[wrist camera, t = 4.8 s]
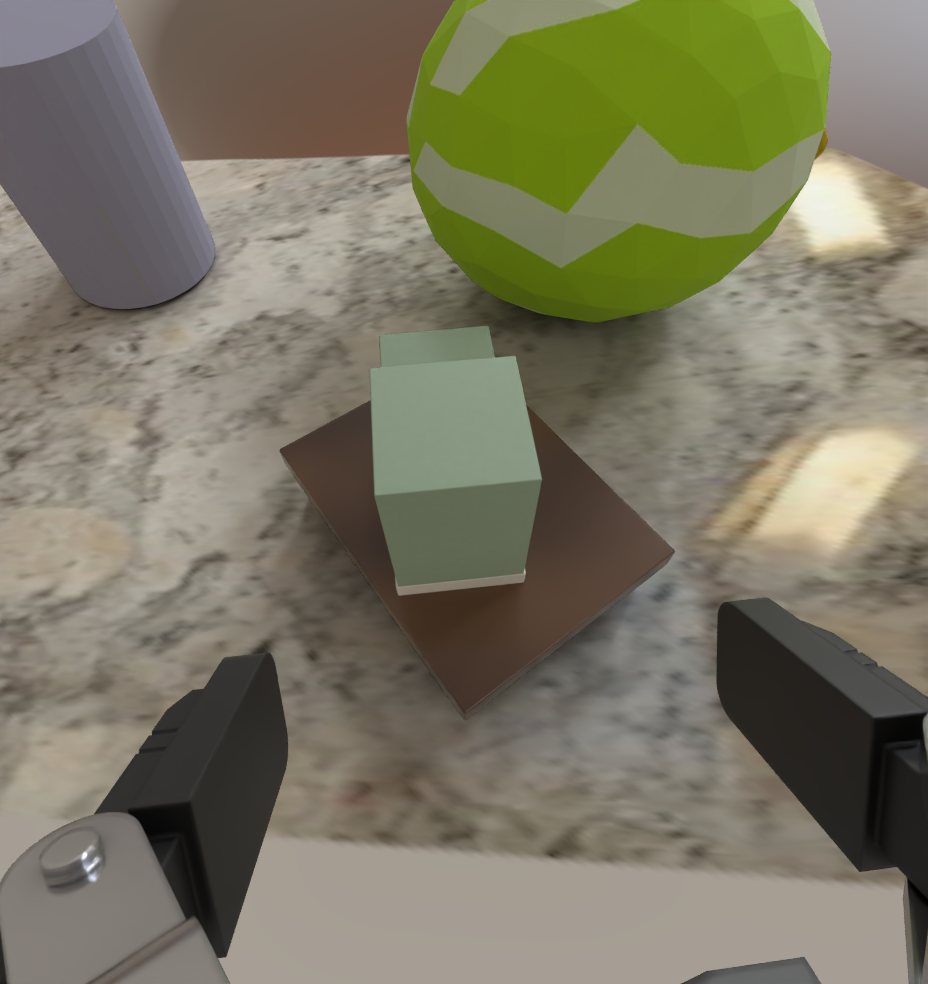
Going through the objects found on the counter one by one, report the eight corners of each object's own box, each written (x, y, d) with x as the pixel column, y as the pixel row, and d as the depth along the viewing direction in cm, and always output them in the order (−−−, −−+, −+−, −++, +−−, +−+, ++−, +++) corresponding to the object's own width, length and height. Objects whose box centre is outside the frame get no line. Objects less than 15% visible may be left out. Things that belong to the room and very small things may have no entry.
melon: (802, 400, 37) (1091, 7, 20) (404, 379, 38) (352, -10, 21) (746, 207, 47) (904, -160, 30) (435, 195, 48) (417, -166, 31)
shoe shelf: (297, 490, 34) (278, 449, 30) (467, 393, 37) (467, 346, 34) (465, 732, 27) (464, 714, 23) (653, 584, 30) (676, 550, 27)
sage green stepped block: (524, 582, 26) (545, 479, 19) (398, 596, 26) (370, 496, 19) (488, 380, 33) (494, 244, 25) (386, 389, 32) (362, 254, 25)
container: (41, 294, 42) (-143, 51, 30) (128, 211, 47) (3, -27, 35) (166, 326, 41) (27, 83, 28) (242, 236, 46) (155, -4, 33)
